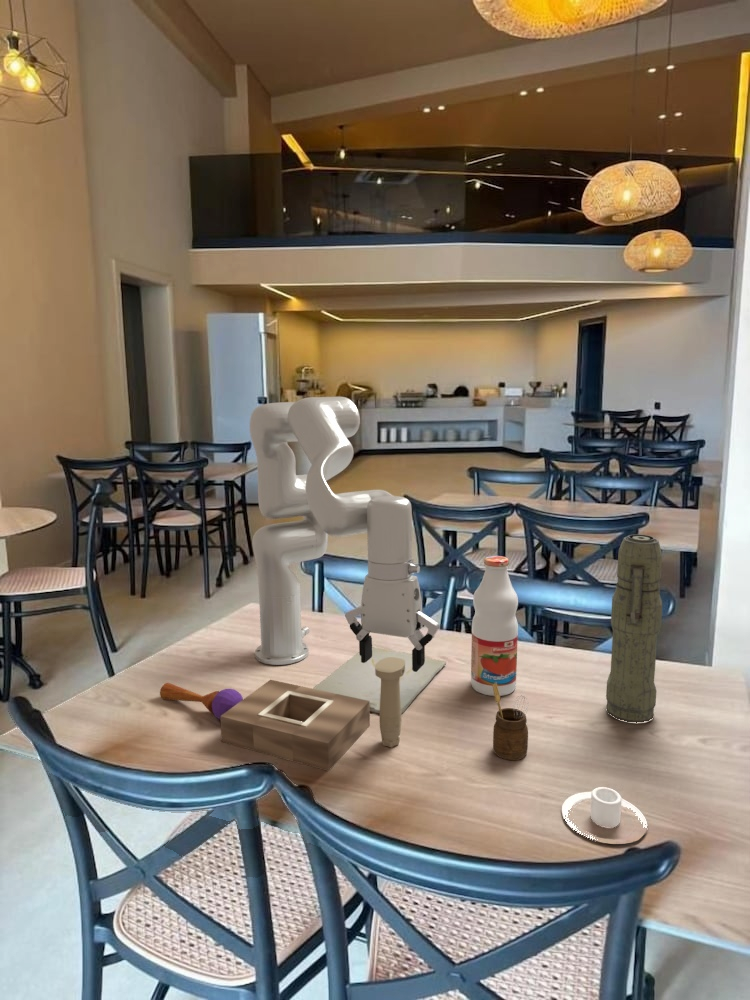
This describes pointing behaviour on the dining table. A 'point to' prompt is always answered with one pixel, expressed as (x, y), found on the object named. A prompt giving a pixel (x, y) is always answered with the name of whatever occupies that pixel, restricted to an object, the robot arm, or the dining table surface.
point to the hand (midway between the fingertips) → (391, 664)
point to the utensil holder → (509, 731)
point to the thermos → (635, 630)
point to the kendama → (204, 698)
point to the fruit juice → (494, 630)
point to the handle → (390, 698)
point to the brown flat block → (296, 723)
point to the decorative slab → (367, 686)
